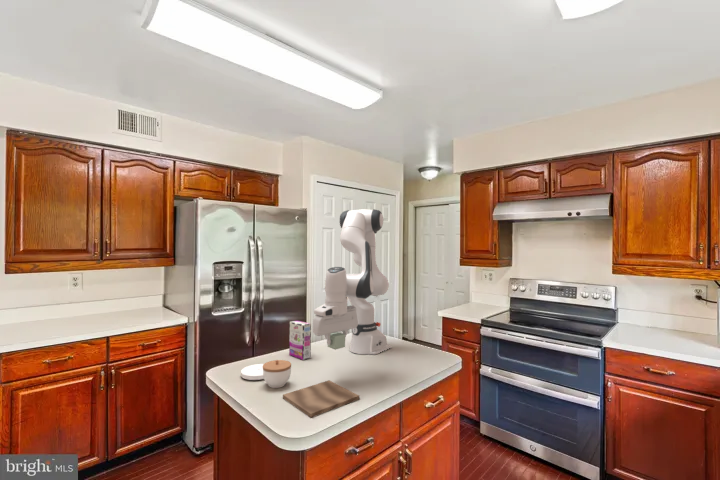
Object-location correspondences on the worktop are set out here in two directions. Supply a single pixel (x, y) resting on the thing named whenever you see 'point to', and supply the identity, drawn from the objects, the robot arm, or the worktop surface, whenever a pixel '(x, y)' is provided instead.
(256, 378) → the white gear
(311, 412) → the cutting board
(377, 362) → the worktop surface
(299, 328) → the candy bar box
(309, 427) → the worktop surface
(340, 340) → the sage cube
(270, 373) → the lidded jar
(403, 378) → the worktop surface
